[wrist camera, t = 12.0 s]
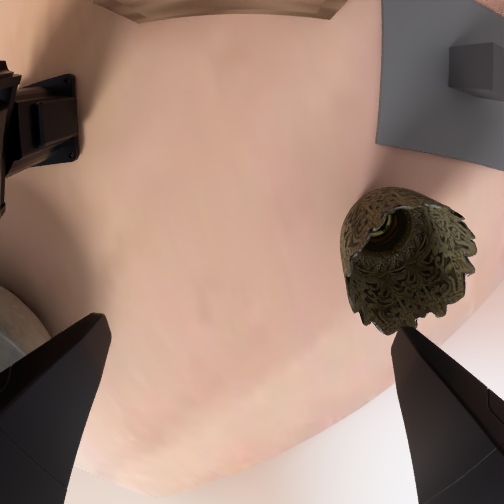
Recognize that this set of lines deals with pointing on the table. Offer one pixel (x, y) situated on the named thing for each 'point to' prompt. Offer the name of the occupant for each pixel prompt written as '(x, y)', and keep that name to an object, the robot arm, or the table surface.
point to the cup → (403, 257)
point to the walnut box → (219, 8)
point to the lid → (443, 80)
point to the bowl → (18, 329)
